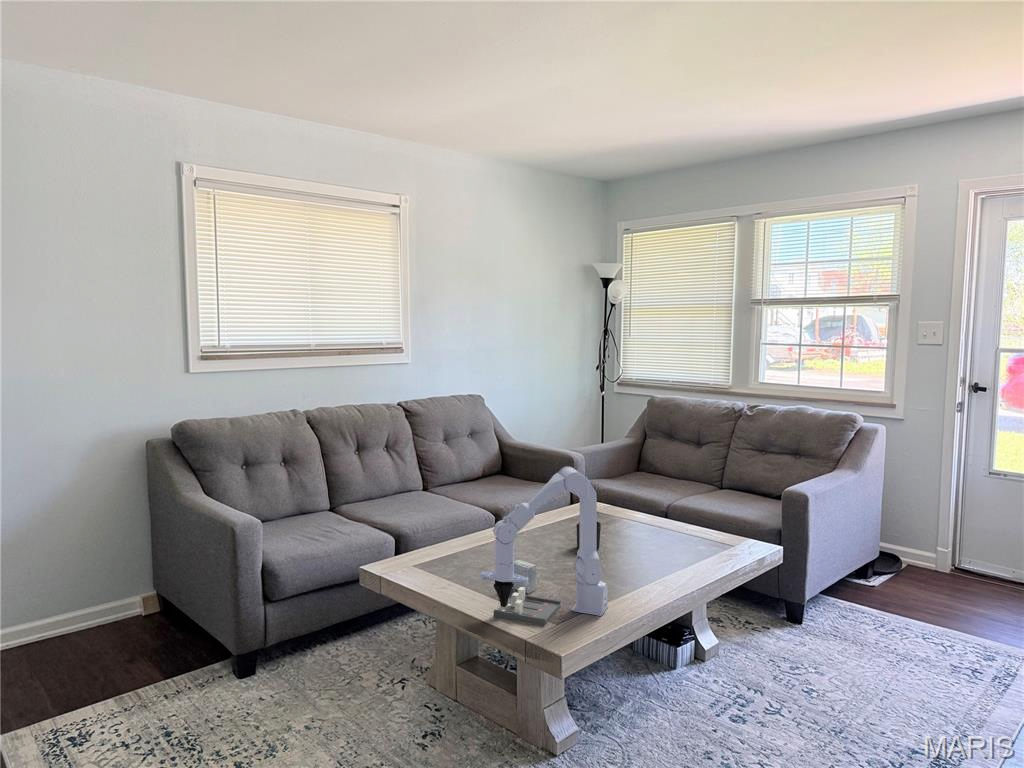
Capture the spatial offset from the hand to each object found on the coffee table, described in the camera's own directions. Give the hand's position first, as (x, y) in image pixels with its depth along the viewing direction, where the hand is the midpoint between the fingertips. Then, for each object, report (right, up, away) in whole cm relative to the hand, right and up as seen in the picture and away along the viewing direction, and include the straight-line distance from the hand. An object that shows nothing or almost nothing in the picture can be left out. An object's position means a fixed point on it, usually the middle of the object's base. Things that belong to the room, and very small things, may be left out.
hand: (504, 605), depth 206 cm
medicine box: (+6, -2, +21) cm, 22 cm away
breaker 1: (+3, -1, +4) cm, 6 cm away
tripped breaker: (+4, -2, -2) cm, 5 cm away
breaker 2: (+5, -1, +9) cm, 10 cm away
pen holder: (+32, +2, +64) cm, 72 cm away
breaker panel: (+7, -3, +3) cm, 8 cm away
